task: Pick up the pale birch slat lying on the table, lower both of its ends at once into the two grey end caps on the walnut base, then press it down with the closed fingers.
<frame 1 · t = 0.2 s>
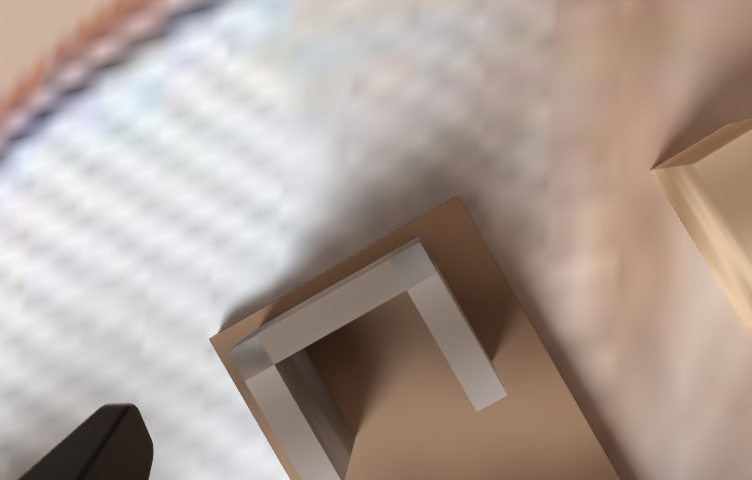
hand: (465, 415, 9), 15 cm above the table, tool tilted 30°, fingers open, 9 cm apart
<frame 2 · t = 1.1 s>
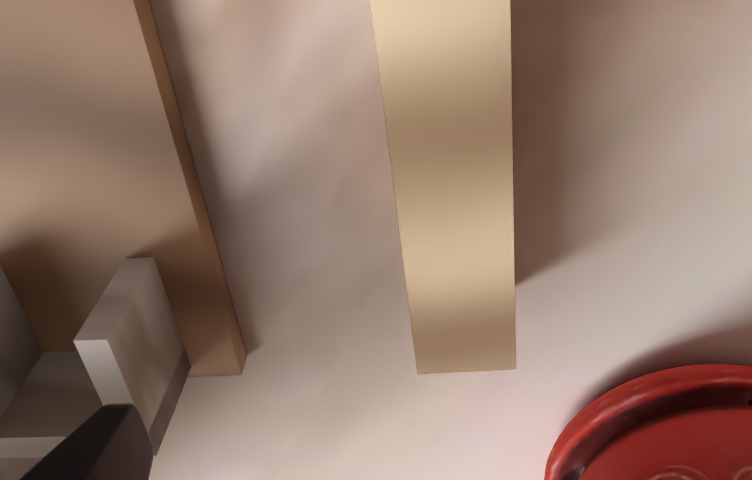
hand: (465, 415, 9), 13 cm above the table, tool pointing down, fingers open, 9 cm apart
end cap base: (18, 110, 21), on the table
birch slat: (444, 75, 20), on the table
plant pot: (681, 436, 27), on the table
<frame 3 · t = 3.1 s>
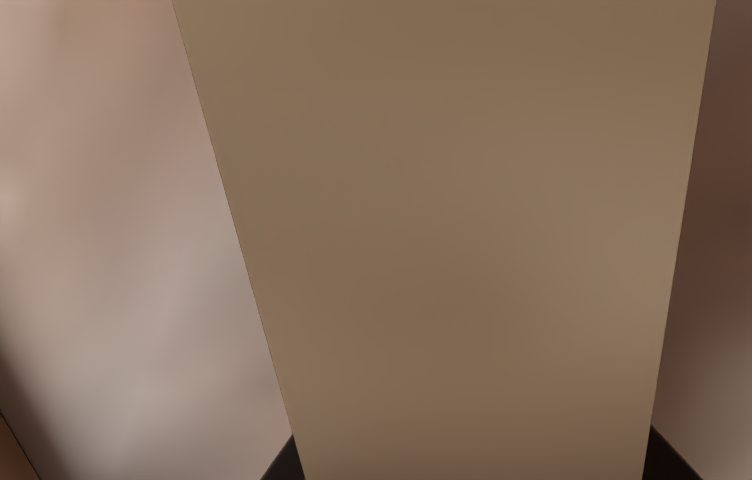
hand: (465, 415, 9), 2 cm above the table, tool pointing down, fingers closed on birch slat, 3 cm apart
birch slat: (459, 329, 10), on the table, touching gripper
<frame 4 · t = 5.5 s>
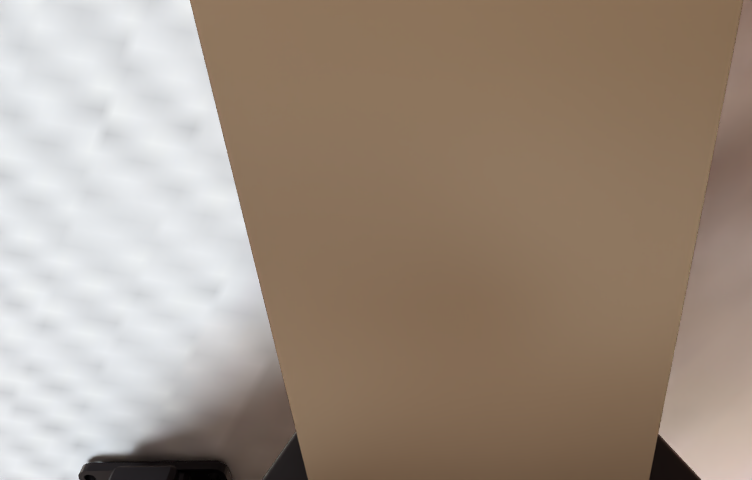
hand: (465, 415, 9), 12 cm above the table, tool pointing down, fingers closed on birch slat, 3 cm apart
birch slat: (459, 331, 10), point 10 cm above the table, touching gripper
when the fingers open (4 cm above the table, at t = 7.4 s): birch slat drops 2 cm, resting on end cap base.
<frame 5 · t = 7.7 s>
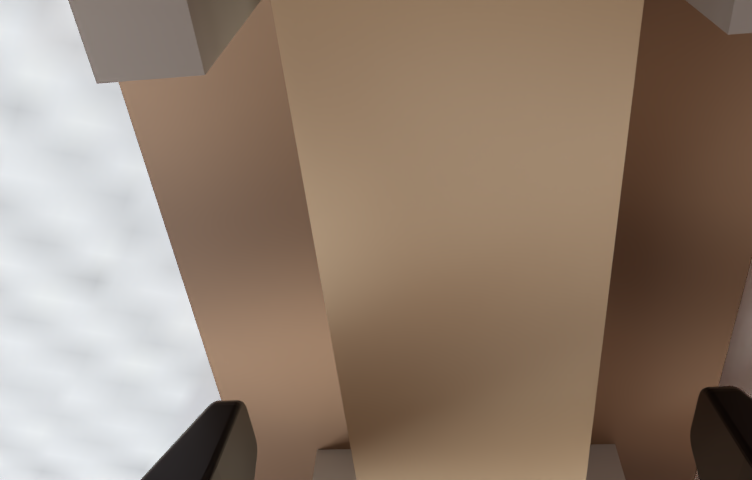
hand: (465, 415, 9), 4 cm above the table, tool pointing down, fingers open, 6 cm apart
end cap base: (453, 228, 13), on the table
birch slat: (455, 260, 12), point 1 cm above the table, touching end cap base
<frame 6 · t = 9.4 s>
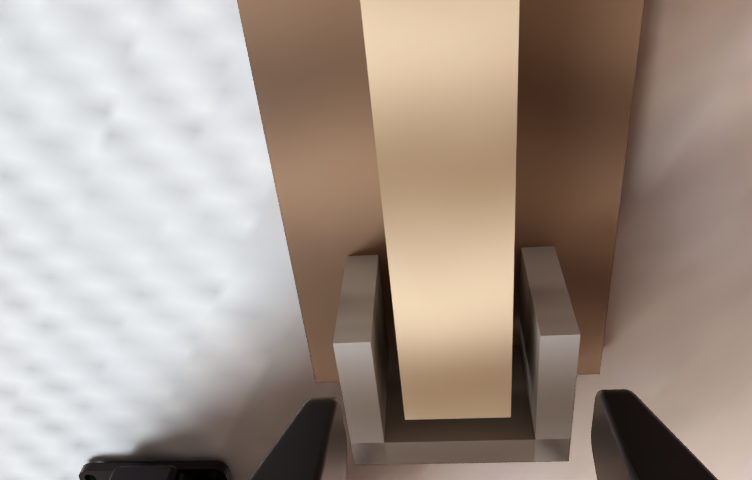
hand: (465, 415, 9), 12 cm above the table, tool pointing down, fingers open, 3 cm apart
end cap base: (440, 84, 19), on the table
birch slat: (441, 99, 18), point 1 cm above the table, touching end cap base
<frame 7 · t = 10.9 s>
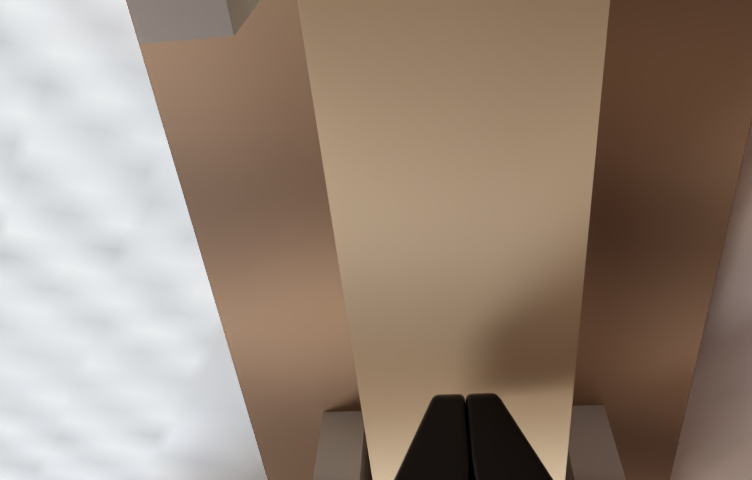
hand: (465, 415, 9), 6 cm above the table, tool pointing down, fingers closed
end cap base: (451, 198, 13), on the table
birch slat: (452, 227, 13), point 1 cm above the table, touching end cap base
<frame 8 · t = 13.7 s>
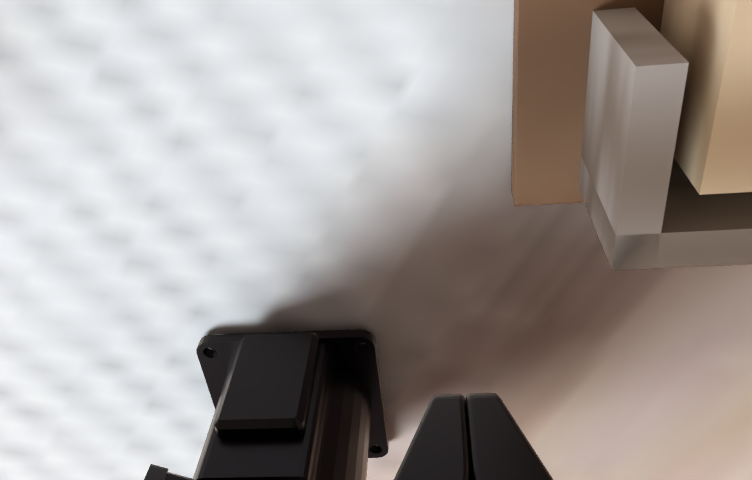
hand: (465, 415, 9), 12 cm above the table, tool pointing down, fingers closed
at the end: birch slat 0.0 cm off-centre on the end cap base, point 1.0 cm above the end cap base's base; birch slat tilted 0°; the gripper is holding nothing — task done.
